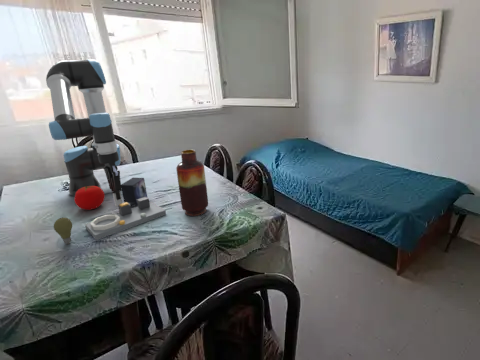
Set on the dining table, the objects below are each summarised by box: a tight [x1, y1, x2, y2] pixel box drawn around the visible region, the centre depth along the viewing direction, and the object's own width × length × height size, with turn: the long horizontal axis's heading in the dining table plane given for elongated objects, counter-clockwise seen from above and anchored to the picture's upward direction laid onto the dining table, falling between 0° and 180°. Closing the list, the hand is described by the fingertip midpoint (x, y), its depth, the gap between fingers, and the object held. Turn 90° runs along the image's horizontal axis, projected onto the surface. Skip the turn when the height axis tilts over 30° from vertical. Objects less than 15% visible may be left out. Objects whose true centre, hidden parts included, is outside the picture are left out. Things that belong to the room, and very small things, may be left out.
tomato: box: [73, 185, 105, 210], centre depth 135 cm, size 11×12×10 cm
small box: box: [121, 177, 148, 207], centre depth 138 cm, size 11×6×10 cm, turn 168°
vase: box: [175, 149, 209, 217], centre depth 121 cm, size 11×11×26 cm
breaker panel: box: [84, 201, 167, 241], centre depth 120 cm, size 13×28×4 cm, turn 131°
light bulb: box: [53, 217, 73, 245], centre depth 105 cm, size 6×6×10 cm
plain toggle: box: [137, 196, 150, 210], centre depth 127 cm, size 3×4×4 cm
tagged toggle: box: [117, 202, 132, 216], centre depth 122 cm, size 3×4×4 cm
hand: (119, 205), depth 127 cm, fingers closed
